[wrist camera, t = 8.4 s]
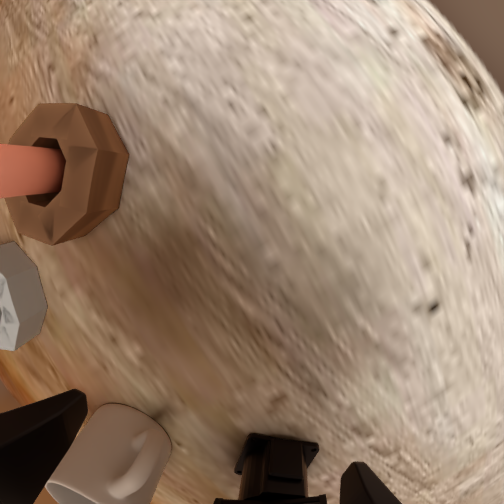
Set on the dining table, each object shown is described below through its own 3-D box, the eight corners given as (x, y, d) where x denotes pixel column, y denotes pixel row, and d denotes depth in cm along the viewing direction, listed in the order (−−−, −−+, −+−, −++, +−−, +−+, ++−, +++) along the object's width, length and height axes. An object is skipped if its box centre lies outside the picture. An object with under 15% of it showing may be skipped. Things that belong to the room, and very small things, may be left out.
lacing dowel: (87, 194, 19) (-5, 204, 10) (59, 187, 19) (-30, 196, 11) (94, 153, 19) (3, 144, 10) (66, 149, 19) (-23, 142, 10)
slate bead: (56, 333, 22) (30, 353, 18) (6, 331, 23) (-17, 345, 19) (30, 236, 20) (-2, 245, 17) (-17, 250, 21) (-43, 258, 18)
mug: (145, 467, 25) (112, 539, 14) (84, 420, 24) (34, 486, 14) (212, 431, 23) (184, 532, 12) (136, 370, 22) (70, 462, 11)
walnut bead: (113, 244, 20) (81, 256, 16) (31, 218, 20) (-1, 225, 16) (138, 117, 18) (109, 104, 14) (50, 112, 18) (17, 104, 14)
